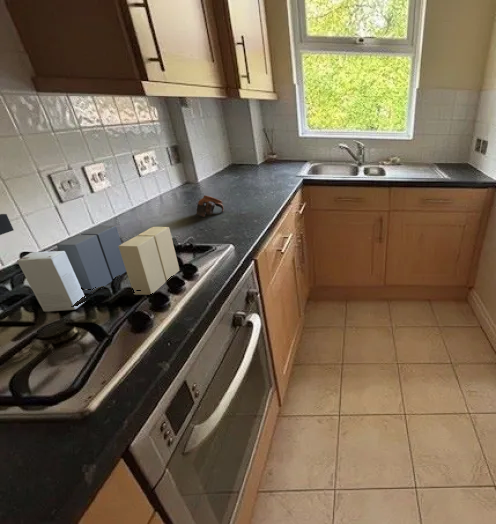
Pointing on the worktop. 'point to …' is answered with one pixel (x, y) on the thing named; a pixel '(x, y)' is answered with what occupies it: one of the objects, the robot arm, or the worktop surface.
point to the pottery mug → (208, 205)
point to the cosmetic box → (52, 280)
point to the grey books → (95, 256)
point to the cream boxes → (149, 259)
